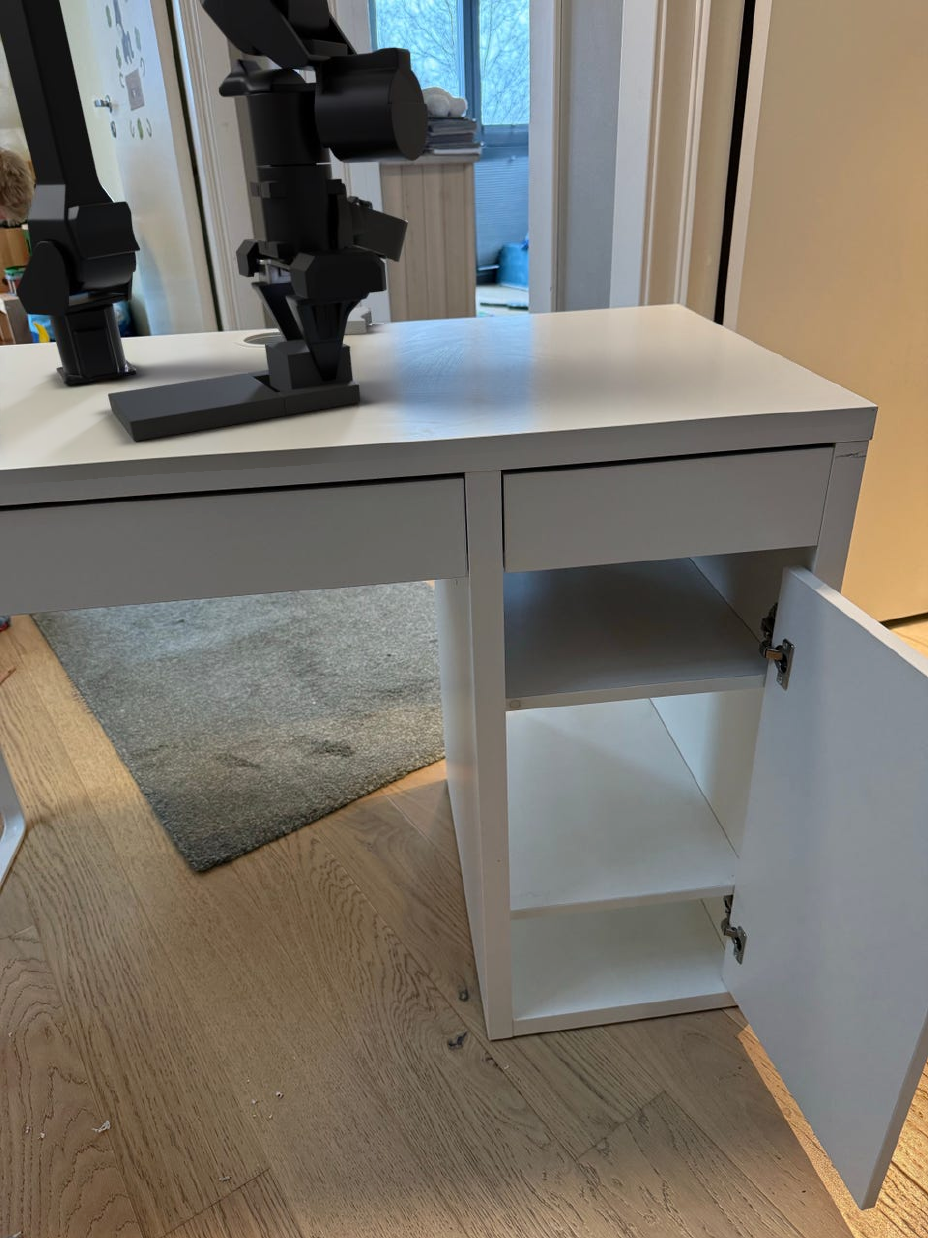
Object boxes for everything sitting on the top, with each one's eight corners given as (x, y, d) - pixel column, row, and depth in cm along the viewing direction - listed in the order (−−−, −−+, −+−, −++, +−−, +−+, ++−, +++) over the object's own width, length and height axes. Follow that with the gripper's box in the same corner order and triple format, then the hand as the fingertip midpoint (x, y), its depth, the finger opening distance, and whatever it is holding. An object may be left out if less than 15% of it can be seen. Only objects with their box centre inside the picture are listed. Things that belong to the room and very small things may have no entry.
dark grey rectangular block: (270, 385, 74) (264, 344, 72) (328, 376, 76) (324, 335, 74) (293, 399, 69) (287, 354, 68) (353, 388, 72) (349, 345, 70)
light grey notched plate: (366, 333, 96) (374, 317, 105) (365, 320, 96) (373, 305, 104) (315, 335, 96) (327, 319, 105) (314, 322, 96) (326, 307, 104)
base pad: (111, 411, 71) (107, 393, 70) (318, 379, 78) (316, 362, 77) (134, 441, 63) (129, 421, 62) (361, 402, 70) (359, 384, 69)
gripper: (444, 160, 61) (453, 381, 68) (346, 161, 75) (362, 343, 83) (294, 167, 56) (322, 403, 64) (220, 166, 71) (250, 359, 78)
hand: (317, 373), depth 72 cm, fingers closed on dark grey rectangular block, 5 cm apart
